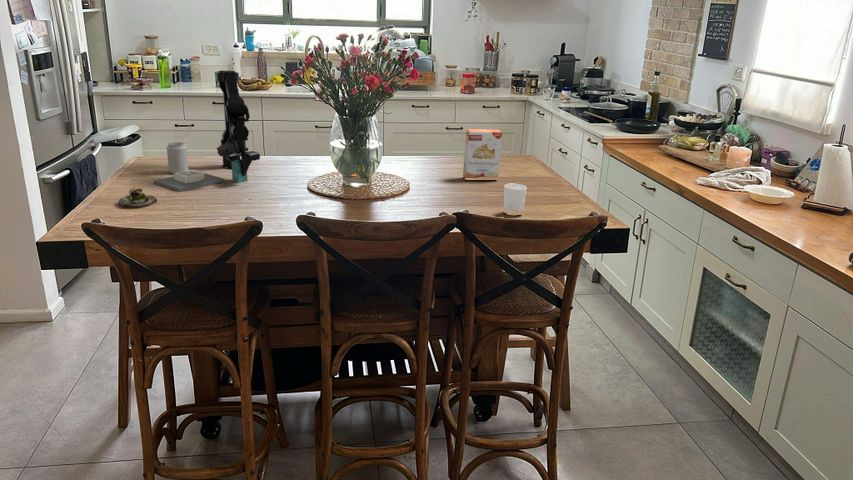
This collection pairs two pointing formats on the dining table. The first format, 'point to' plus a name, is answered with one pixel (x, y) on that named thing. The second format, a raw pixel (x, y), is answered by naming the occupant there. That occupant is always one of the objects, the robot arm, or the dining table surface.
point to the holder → (188, 180)
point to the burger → (136, 198)
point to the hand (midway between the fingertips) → (239, 174)
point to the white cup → (514, 196)
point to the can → (177, 157)
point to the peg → (237, 172)
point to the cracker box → (482, 153)
